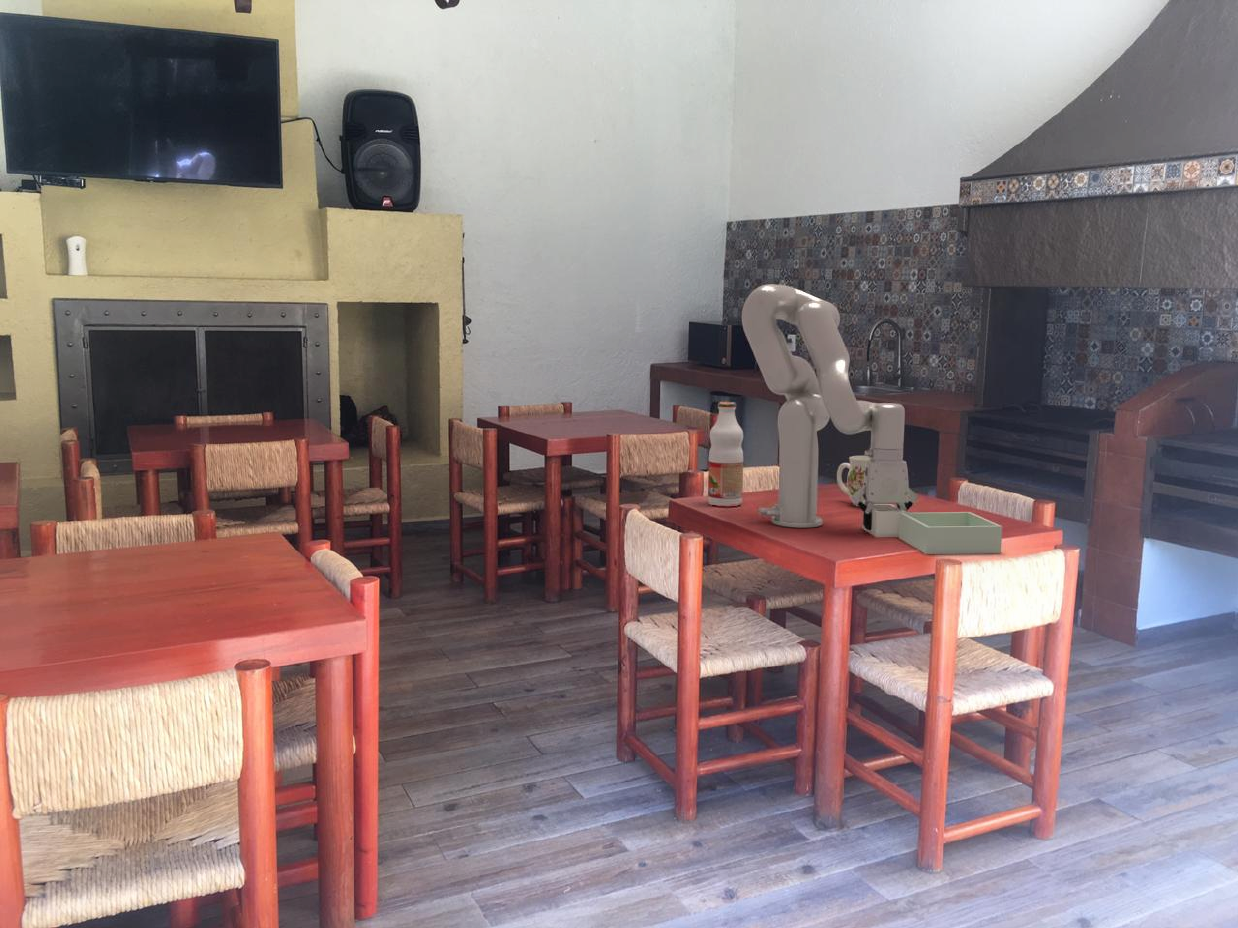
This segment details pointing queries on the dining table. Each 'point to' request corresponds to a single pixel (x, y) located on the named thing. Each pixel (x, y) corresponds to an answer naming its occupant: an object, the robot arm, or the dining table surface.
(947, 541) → the big crate
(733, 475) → the fruit juice
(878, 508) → the small tote
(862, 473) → the pitcher
